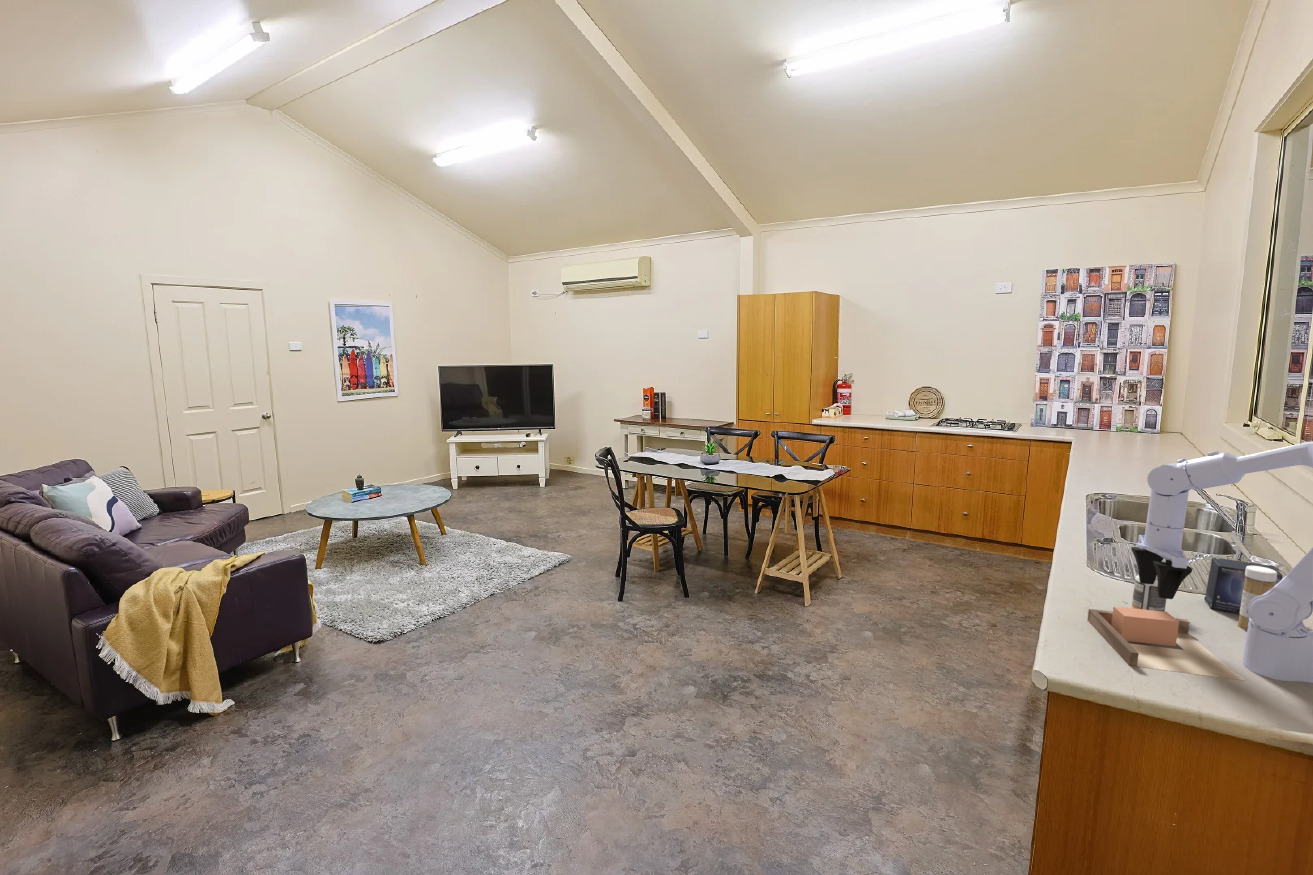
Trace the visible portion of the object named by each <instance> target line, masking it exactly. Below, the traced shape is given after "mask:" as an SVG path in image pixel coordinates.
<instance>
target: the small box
mask: <svg viewBox="0 0 1313 875" xmlns="http://www.w3.org/2000/svg"><path fill="white" fill-rule="evenodd" d="M1210 562H1211V563H1210V568H1209V574H1208V580H1207V585H1206V590H1205V591H1206V592H1205V595H1204V601H1205V602H1206V603H1207V605H1208V607H1209V608H1210V609H1211V610H1213V611H1214V610H1215V611H1220V612H1226V613H1232V614H1237V615H1240V607H1241V601H1242V594H1243V589H1244V584H1245V576H1246V575H1245V570H1246V567H1247V566H1260V567H1265V568H1269V569H1272V570H1274V571H1276V572H1277V579H1276V581H1275V583H1274V586H1275V585H1276V584H1278V583H1279V582H1280V581H1281V580H1282V579H1283V578H1284V575H1283V574H1282V573H1281V572H1280V571H1279V570H1278V569H1277V568H1275V567H1274V566H1273V565H1268V564H1262V563H1256V562H1247V561H1241V560H1232V559H1227V558H1220V557H1214V556H1213V557H1211V561H1210Z"/></svg>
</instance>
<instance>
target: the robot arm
mask: <svg viewBox="0 0 1313 875" xmlns="http://www.w3.org/2000/svg"><path fill="white" fill-rule="evenodd" d="M1176 461H1177V462H1176V463H1175V462H1173V463H1168V464H1161V465H1159V466H1157V467H1154V468H1153V469H1151V470H1150V471H1149V473H1148V474H1147V475H1148V476H1147V481H1146V482H1147V483H1148V484H1147V485H1148V486H1149V488H1150V496H1149V500H1148V501H1149V502H1148V509H1147V514H1146V515H1147V516H1146V523H1145V531H1144V534H1139V535H1138V538H1137V540H1138V541H1137V542H1136V546H1131V548H1130V550H1131V552H1132V553H1133V555H1134V556H1133V557H1134V558H1135V562H1136V566H1137V572H1138V575H1139V580H1140V583H1142V584H1154V582H1155V579H1156V576H1157V578H1158V596H1159V597H1160V598H1164V599H1166V600H1173V599H1174V598H1175V596H1176V594H1177V592H1178V590H1179V588H1180V586H1181V584H1182V583H1183V582H1184V580H1185V579H1186V578H1187V577H1188V576H1189V575H1191V573H1192V572H1193V568H1192V567H1191V566H1190V565H1188V562H1189V559H1188V558H1187V557H1186V556H1185V554H1184V551H1183V549H1182V544H1183V537H1184V530H1185V523H1186V515H1187V509H1188V499H1189V493H1190V492H1189V491H1191V490H1194V491H1198V490H1204V489H1209V488H1210V489H1211V488H1215V487H1222V486H1229V485H1233V484H1238V483H1239V482H1240V481H1241V480H1242V479H1243V478H1244V477H1245V475H1246V474H1251V473H1258V472H1263V471H1265V472H1266V471H1271V470H1276V469H1283V468H1290V467H1295V466H1306V467H1309V468H1313V441H1312V440H1311V441H1305V442H1302V443H1296V444H1292V445H1289V446H1283V447H1280V448H1275V449H1270V450H1265V451H1262V452H1261V451H1260V452H1257V453H1252V454H1248V455H1244V456H1243V455H1242V456H1236V455H1234V454H1233V453H1229V452H1225V451H1224V452H1219V451H1218V450H1214V451H1210V452H1207V453H1206V456H1201V457H1197V458H1192V459H1188V460H1187V459H1186V458H1180V459H1177V460H1176ZM1163 560H1165V561H1163ZM1248 614H1249V617H1250V618H1249V624H1248V630H1247V632H1246V636H1245V642H1244V648H1243V656H1242V661H1241V665H1242V666H1243V667H1244V668H1245V669H1247V670H1248V671H1250V672H1252V673H1255V674H1257V675H1259V676H1262V677H1265V678H1269V679H1272V680H1276V681H1277V680H1278V681H1283V682H1303V683H1310V684H1313V631H1312V630H1308V629H1307V628H1306V626H1305V624H1304V622H1303V621H1305V620H1307V619H1308V618H1310V617H1311V616H1312V615H1313V546H1312V547H1311V548H1310V549H1309V551H1307V552H1306V554H1305V555H1304V556H1303V557H1302V558H1301V559H1300V560H1299V561H1298V563H1297V564H1295V565H1294V566H1293V568H1292V569H1291V570H1290V571H1289V572H1288V573H1287V574H1286V576H1283V577H1282V580H1281V581H1280V582H1279V583H1278V584H1276V585H1275V586H1274V587H1273V588H1271V589H1269V590H1268V591H1267V592H1266V593H1264V594H1263V595H1261V596H1258V597H1255V598H1254V599H1252V600H1251V601H1250V603H1249V604H1248Z"/></svg>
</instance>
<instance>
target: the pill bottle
mask: <svg viewBox="0 0 1313 875" xmlns="http://www.w3.org/2000/svg"><path fill="white" fill-rule="evenodd" d="M1132 594H1133V595H1132V601H1131V608H1134V609H1144V610H1153V611H1163V612H1166V604H1167V599H1164V598H1160V597H1159V596H1158V578H1157V576H1156V579H1155V582H1154V584H1142V583H1140V580H1139V574H1138V575H1136V576H1135V579H1134V586H1133V593H1132Z"/></svg>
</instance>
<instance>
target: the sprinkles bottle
mask: <svg viewBox="0 0 1313 875" xmlns="http://www.w3.org/2000/svg"><path fill="white" fill-rule="evenodd" d="M1245 575H1246V576H1245V584H1244V589H1243V594H1242V601H1241V607H1240V614H1239V616H1238V622H1237V623H1238V624H1237V625H1236V627H1239V628H1240V629H1241V630H1243V631H1245V632H1246V633H1247V630H1248V624H1249V618H1250V617H1249V614H1248V604H1249V603H1250V601H1251V600H1252V599H1254V598H1255V597H1258V596H1261V595H1263V594H1264V593H1266V592H1267V591H1268V590H1269V589H1271V588H1273V587H1274V583H1275V581H1276V579H1277V572H1276V571H1274V570H1272V569H1269V568H1265V567H1260V566H1247V567H1246V570H1245Z"/></svg>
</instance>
